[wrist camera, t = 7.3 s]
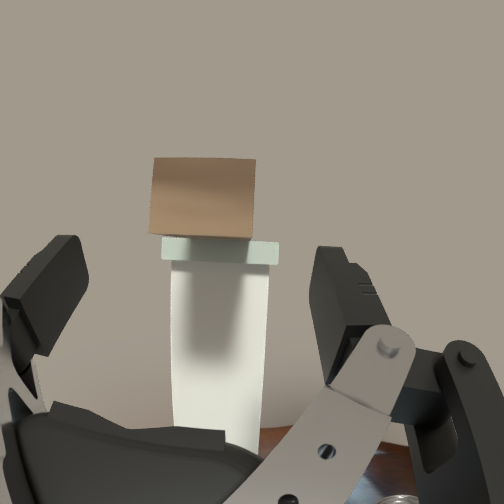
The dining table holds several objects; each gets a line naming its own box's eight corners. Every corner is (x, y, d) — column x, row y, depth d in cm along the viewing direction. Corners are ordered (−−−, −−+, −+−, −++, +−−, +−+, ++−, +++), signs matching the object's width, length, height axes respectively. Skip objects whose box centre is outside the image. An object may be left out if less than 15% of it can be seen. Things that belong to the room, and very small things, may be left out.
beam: (252, 237, 12) (256, 140, 12) (148, 233, 12) (156, 138, 12) (248, 243, 37) (249, 210, 37) (213, 241, 37) (215, 209, 37)
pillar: (255, 542, 22) (279, 242, 21) (179, 536, 22) (162, 237, 21) (252, 461, 38) (265, 244, 37) (197, 458, 38) (197, 240, 37)
